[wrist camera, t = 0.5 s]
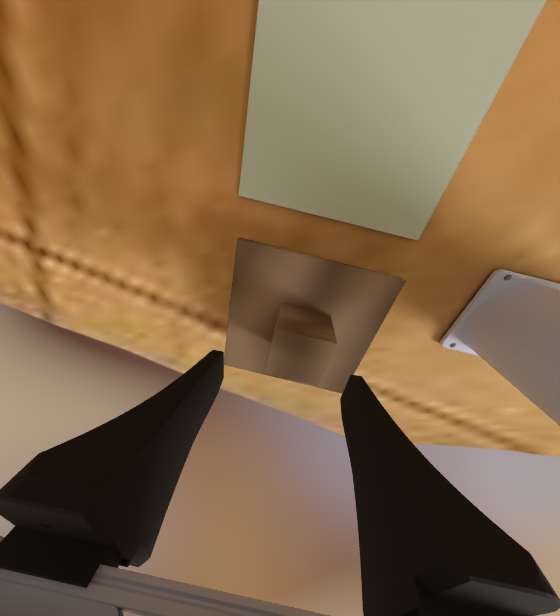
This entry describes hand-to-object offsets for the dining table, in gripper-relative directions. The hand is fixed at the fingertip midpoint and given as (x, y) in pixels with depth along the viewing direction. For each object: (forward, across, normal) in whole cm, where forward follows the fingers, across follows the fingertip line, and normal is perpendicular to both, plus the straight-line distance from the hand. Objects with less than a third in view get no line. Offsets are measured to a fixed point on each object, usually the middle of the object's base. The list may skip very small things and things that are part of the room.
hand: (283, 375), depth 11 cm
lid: (+6, -1, 0) cm, 6 cm away
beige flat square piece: (+9, -2, -15) cm, 18 cm away
